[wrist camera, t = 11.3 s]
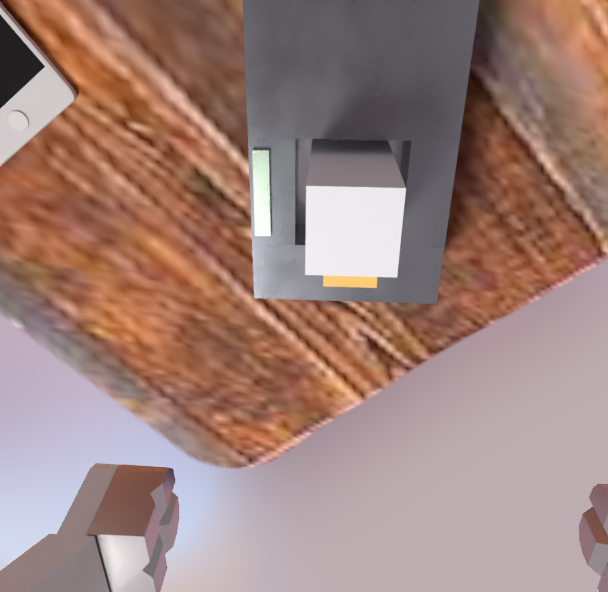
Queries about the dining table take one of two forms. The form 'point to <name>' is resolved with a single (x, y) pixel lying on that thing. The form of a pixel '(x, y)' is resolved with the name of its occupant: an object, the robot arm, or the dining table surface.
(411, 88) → the panel
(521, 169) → the dining table surface
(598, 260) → the dining table surface
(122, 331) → the dining table surface
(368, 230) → the plug
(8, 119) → the smartphone
